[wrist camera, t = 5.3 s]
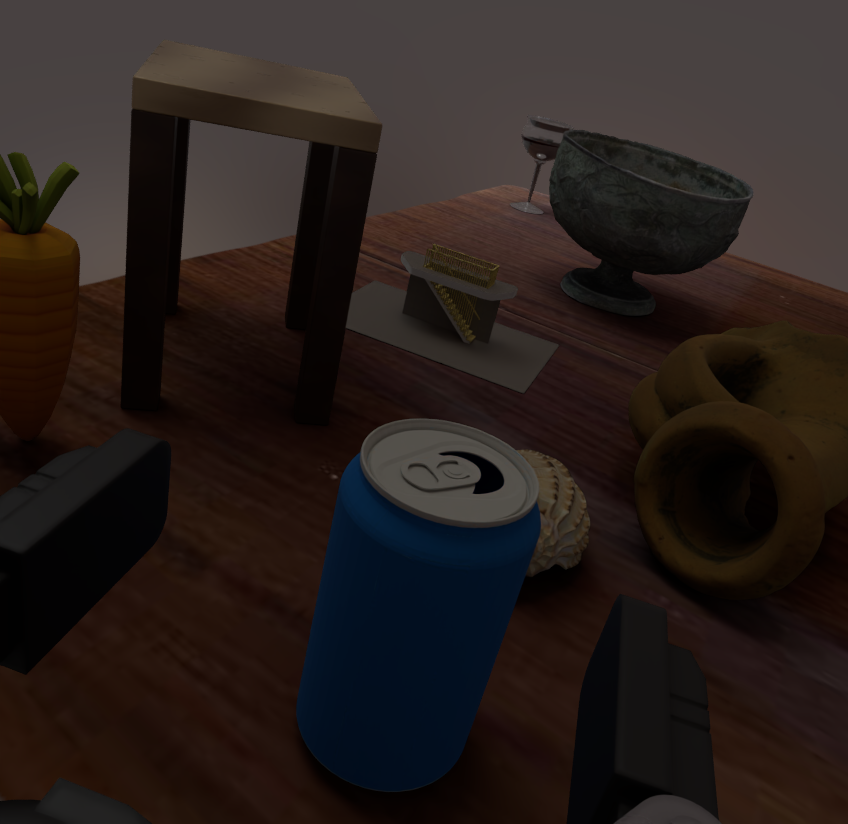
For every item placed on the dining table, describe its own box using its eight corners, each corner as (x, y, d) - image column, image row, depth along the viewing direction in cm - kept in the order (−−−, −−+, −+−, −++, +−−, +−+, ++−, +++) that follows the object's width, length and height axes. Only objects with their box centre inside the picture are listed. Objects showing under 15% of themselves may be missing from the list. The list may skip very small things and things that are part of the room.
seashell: (417, 539, 45) (483, 593, 36) (426, 435, 45) (496, 462, 35) (539, 541, 48) (632, 592, 38) (549, 442, 47) (645, 469, 38)
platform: (523, 393, 58) (549, 312, 55) (311, 315, 63) (324, 235, 60) (559, 345, 69) (582, 274, 66) (375, 280, 73) (388, 211, 70)
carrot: (98, 430, 43) (104, 150, 36) (44, 477, 38) (38, 168, 31) (13, 406, 43) (2, 123, 36) (-51, 449, 39) (-78, 137, 32)
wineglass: (540, 218, 109) (565, 129, 103) (496, 203, 111) (519, 115, 106) (556, 212, 115) (581, 127, 109) (514, 198, 117) (536, 114, 111)
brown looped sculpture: (1010, 449, 49) (921, 480, 33) (844, 570, 56) (706, 643, 40) (795, 258, 57) (644, 210, 42) (674, 383, 64) (505, 382, 48)
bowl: (633, 351, 71) (695, 186, 64) (484, 271, 83) (523, 123, 76) (736, 328, 84) (797, 188, 77) (595, 261, 96) (637, 134, 89)
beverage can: (493, 773, 29) (595, 515, 24) (333, 832, 26) (406, 548, 20) (414, 646, 34) (483, 406, 28) (269, 682, 31) (315, 418, 25)
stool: (120, 408, 45) (132, 76, 37) (149, 300, 59) (163, 39, 50) (328, 425, 48) (382, 123, 40) (310, 319, 62) (348, 77, 53)
